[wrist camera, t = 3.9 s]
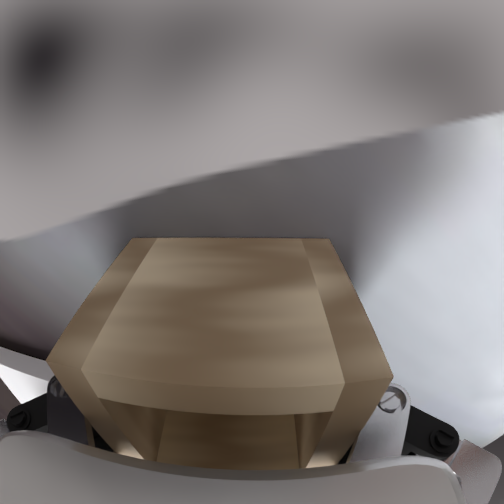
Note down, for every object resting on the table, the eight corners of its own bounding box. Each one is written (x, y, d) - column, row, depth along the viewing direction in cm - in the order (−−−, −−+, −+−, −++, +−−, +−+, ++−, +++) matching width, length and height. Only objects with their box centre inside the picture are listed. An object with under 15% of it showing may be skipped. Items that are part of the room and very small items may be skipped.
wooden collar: (328, 238, 10) (393, 376, 5) (306, 369, 13) (322, 482, 8) (132, 237, 10) (45, 360, 5) (164, 366, 13) (137, 473, 8)
